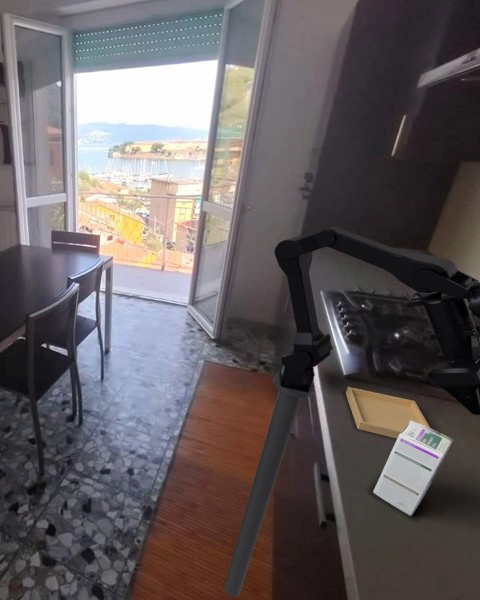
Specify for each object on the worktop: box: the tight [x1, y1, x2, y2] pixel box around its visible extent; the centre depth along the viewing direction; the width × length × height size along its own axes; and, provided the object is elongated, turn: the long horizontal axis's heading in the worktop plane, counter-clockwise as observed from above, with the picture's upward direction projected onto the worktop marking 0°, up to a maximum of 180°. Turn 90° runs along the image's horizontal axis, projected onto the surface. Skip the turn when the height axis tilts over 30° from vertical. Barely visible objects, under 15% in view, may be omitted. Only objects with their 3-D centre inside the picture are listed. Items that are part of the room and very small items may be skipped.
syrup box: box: [372, 420, 454, 517], centre depth 61 cm, size 6×6×14 cm
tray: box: [345, 386, 431, 440], centre depth 81 cm, size 13×13×2 cm
